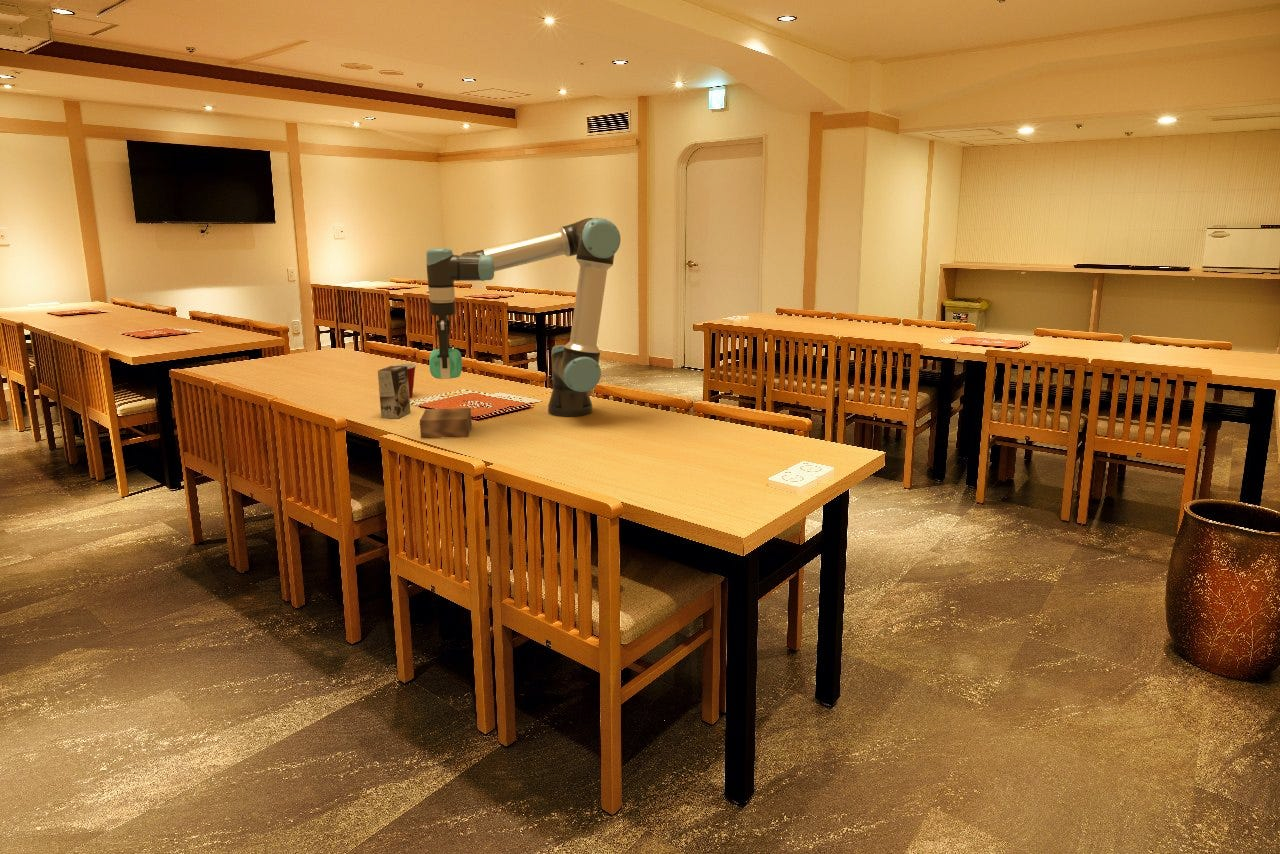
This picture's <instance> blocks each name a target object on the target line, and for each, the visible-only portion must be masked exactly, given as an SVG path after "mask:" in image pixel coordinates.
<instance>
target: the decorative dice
mask: <svg viewBox="0 0 1280 854" xmlns="http://www.w3.org/2000/svg"><path fill="white" fill-rule="evenodd" d="M439 353H440V351H439V348H438V349H437V348H436V349H433V350H431V352H430V355H429V360H428V361H429V362H428V365H429V366H428V367H429V372H430V375H431V376H432V377H433V378H435V379H437V380H442V379H441V370H440V358H438V357H437V355H439ZM448 353H449V363H450V379H451V380H452V379H457V378H459V377H460V376H461V374H462V369H463V359H462V353H461V352H460V350H459V349H457V348H452V349H448ZM450 379H449V380H450Z"/></svg>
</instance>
